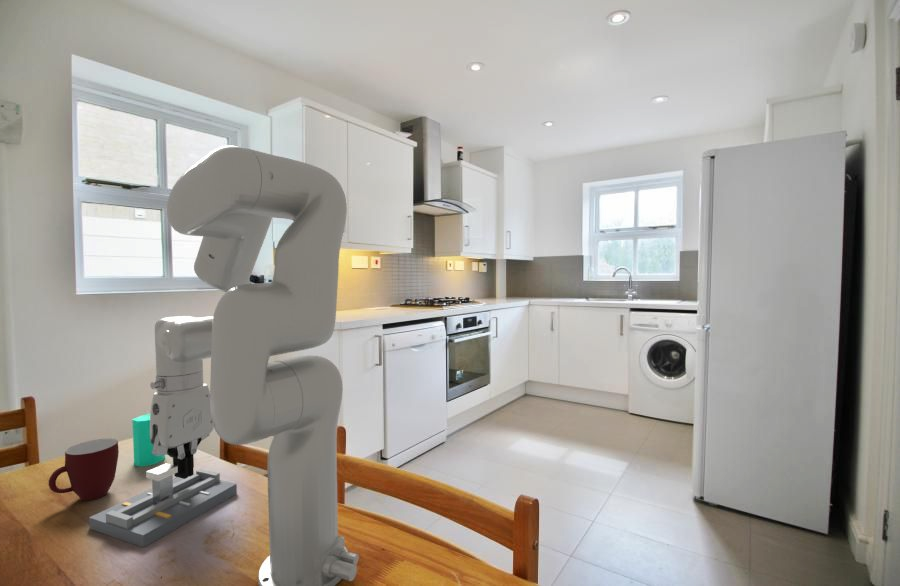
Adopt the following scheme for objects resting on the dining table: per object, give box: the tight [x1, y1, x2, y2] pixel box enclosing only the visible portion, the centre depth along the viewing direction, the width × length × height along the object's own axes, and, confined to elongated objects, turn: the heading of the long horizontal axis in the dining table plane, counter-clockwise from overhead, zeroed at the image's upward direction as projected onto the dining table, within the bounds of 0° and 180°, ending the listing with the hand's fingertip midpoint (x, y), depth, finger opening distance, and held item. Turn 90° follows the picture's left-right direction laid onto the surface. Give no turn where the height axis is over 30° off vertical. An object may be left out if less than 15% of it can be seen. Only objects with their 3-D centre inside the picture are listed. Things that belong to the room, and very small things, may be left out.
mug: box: [48, 438, 119, 502], centre depth 84 cm, size 11×8×10 cm
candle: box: [131, 410, 166, 467], centre depth 101 cm, size 6×6×12 cm
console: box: [88, 468, 238, 548], centre depth 80 cm, size 14×18×4 cm
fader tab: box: [145, 463, 178, 504], centre depth 79 cm, size 3×4×6 cm
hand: (183, 475), depth 82 cm, fingers closed
